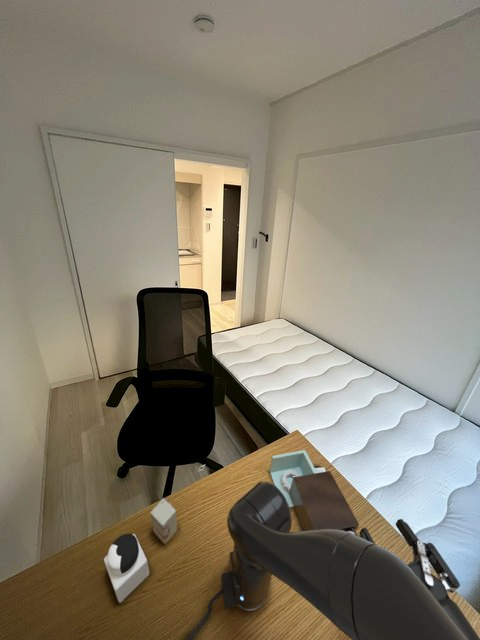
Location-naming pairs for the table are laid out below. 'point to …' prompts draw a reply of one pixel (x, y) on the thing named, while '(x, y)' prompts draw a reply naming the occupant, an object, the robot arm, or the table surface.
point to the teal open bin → (290, 470)
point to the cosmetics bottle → (164, 520)
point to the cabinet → (321, 503)
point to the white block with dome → (126, 565)
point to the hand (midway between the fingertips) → (380, 525)
